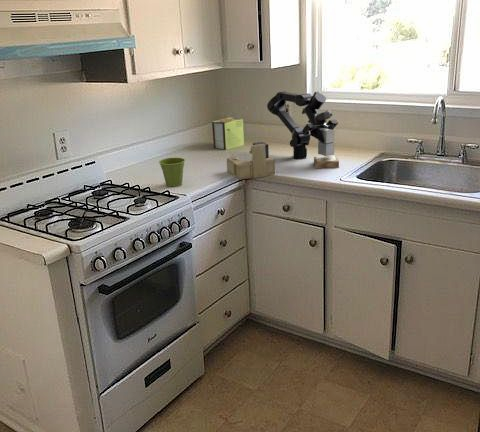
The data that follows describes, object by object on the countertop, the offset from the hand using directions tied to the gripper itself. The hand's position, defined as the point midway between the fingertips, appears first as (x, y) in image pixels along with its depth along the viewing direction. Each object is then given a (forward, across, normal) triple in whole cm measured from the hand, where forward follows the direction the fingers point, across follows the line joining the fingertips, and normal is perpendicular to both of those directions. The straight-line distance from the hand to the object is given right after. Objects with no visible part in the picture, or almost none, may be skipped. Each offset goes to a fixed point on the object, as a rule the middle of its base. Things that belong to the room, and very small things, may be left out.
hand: (328, 141), depth 259 cm
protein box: (-41, -14, +59) cm, 73 cm away
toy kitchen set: (-1, -36, +19) cm, 40 cm away
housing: (+4, 0, +6) cm, 7 cm away
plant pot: (-6, -73, +23) cm, 77 cm away
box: (-8, -23, +26) cm, 36 cm away
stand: (+8, 0, +9) cm, 12 cm away
